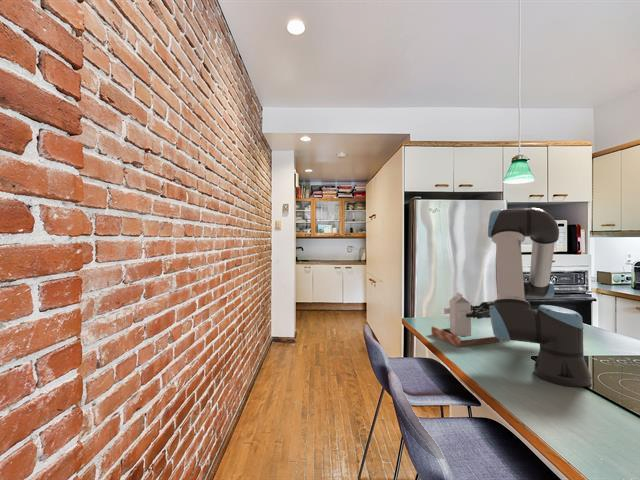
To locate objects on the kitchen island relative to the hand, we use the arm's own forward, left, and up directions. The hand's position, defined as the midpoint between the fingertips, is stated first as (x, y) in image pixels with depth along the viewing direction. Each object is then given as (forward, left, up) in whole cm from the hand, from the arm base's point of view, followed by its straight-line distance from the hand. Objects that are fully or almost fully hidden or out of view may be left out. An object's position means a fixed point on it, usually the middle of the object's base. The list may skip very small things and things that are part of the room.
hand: (451, 313), depth 140 cm
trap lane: (+3, -9, -13) cm, 16 cm away
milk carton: (0, -5, -10) cm, 11 cm away
